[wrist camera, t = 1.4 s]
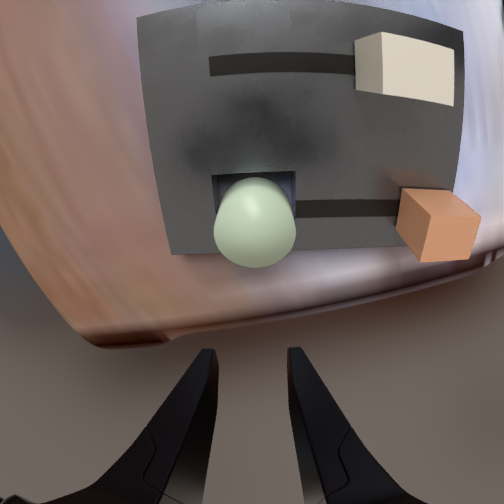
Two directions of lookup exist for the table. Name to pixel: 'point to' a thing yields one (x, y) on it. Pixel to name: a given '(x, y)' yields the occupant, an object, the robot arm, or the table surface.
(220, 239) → the button
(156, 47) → the panel
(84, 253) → the table surface
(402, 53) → the slider
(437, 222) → the slider
